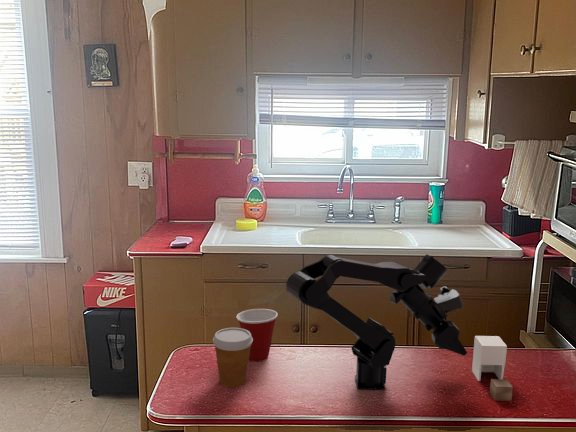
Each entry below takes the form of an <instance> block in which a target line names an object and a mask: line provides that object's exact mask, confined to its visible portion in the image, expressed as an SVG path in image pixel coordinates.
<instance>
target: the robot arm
mask: <svg viewBox="0 0 576 432" xmlns="http://www.w3.org/2000/svg"><path fill="white" fill-rule="evenodd" d="M447 272H448V270H447V268H446V266H445V265H444V264H442V263H441V262H440V261H438V260H437V259H435V258H434V256H433V255H430V254H428V253H426V254H425V255H424V256H423V258H422V260H421V261H420V262H419V263H418V264H417V265H416V266H415V268H414V269H413V268H411V267H407V266H404V265H402V264H399V263H396V262H394V261H381V262H378V263H372V262H365V261H360V260H355V259H350V258H344V257H339V256H338V257H337V256H335V255H333V254H328V255H325V256H323V257H322V258H320V259H319V260H318V261H316V262H312V263H310V264H308V265H306V266H304V267H302V269H300V270H298V271H296V272H293V273H291V275H290V276H289V277H288V278H287V280H286V284H285V291H286V292H287V293H288V294H289V295H290V296H292V297H293V298H295V299H296V300H297V301H299V302H301V304H304V305H306V306H308V307H310V308H312V309H315V310H318V311H319V310H320V311H322V312H323V313H325V314H326V315H327V316H329V317H330V318H332V320H335V322H337V323H338V324H340V325H341V326H343V327H344V328H346V329H347V330H349V331H350V332H351V333H353V334H354V336H355V337H356V341H355V343H354V344H352V346H351V349H350V350H351V352H352V355H353V356H355V357H356V370H355V371H356V372H355V375H354V380H355V384H356V388H357V390H377V391H379V390H381V391H384V390H385V388H386V387H385V385H386V384H387V383H386V382H387V370H388V369H387V366H389V365H390V362H391V360H392V357H393V354H394V351H395V348H396V342H397V340H396V338H395V337H394V332H392V331H390V330H389V329H388V328H386V327H385V326H384V325H383V324H381V323H380V322H377V321H376V320H374V319H373V318H371V317H368V318H367V319H366V321H365V320H362V319H361V318H360V317H359V316H357V315H356V314H354V313H353V312H352V311H350V310H349V309H347V308H346V307H345V306H344V305H342V304H341V303H340V302H338V301H336V300H335V298H332V296H331V295H330V293H329V292H328V291H329V290H330V289H331V288H332V287H333V285H334V283H335V282H336V280H337V279H338V278H340V277H345V278H350V279H357V280H363V281H368V282H374V283H379V284H380V285H384V286H385V287H386V286H387V287H388V288H391V289H393V290H395V291H390V292H389V294H390V295H389V302H390V303H392V304H398V303H399V302H402V303H403V304H404V306H405V307H406V308H407V309H408V310H409V311H410V312H411V313H412V314H413V317H414V318H415V319H416V320H419V321H420V322H421V324H422V325H423V326H424V327H425V329H426V330H427V331H428V332H430V330H433V331H432V332H431V340H432V341H433V343H434V344H435V345H436V346H437V348H439V350H440V349H444V350H447V351H450V352H453V353H456V354H458V355H461V356H466V355H467V354H468V352H467V350H466V349H465V347H464V345H463V343H462V342H461V341H460V339H459V336H460V334H461V331H460V329H459V328H458V327H457V325H456V324H455V323H454V322H453V321H452V320H447V318H448V316H449V315H448V314H447V313H451V312H453V311H456V310H460V309H462V308H464V306H465V305H464V303H463V299H462V298H461V295H460V293H459V292H458V291H457V290H456V289H453V288H452V289H450V288H449V287H447V286H446V285H445V286H442V287H439V294H437V296H436V297H433V295H431V294H430V295H429V294H427V292H426V291H425V290H427V289H428V288H429V289H430V290H432V289H434V287H435V286H436V285H437V284H438V283H439V282H440V280H441V279H443V277H444V276H445V275H446V273H447ZM319 277H320V278H319ZM316 278H317V279H316Z"/></svg>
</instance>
